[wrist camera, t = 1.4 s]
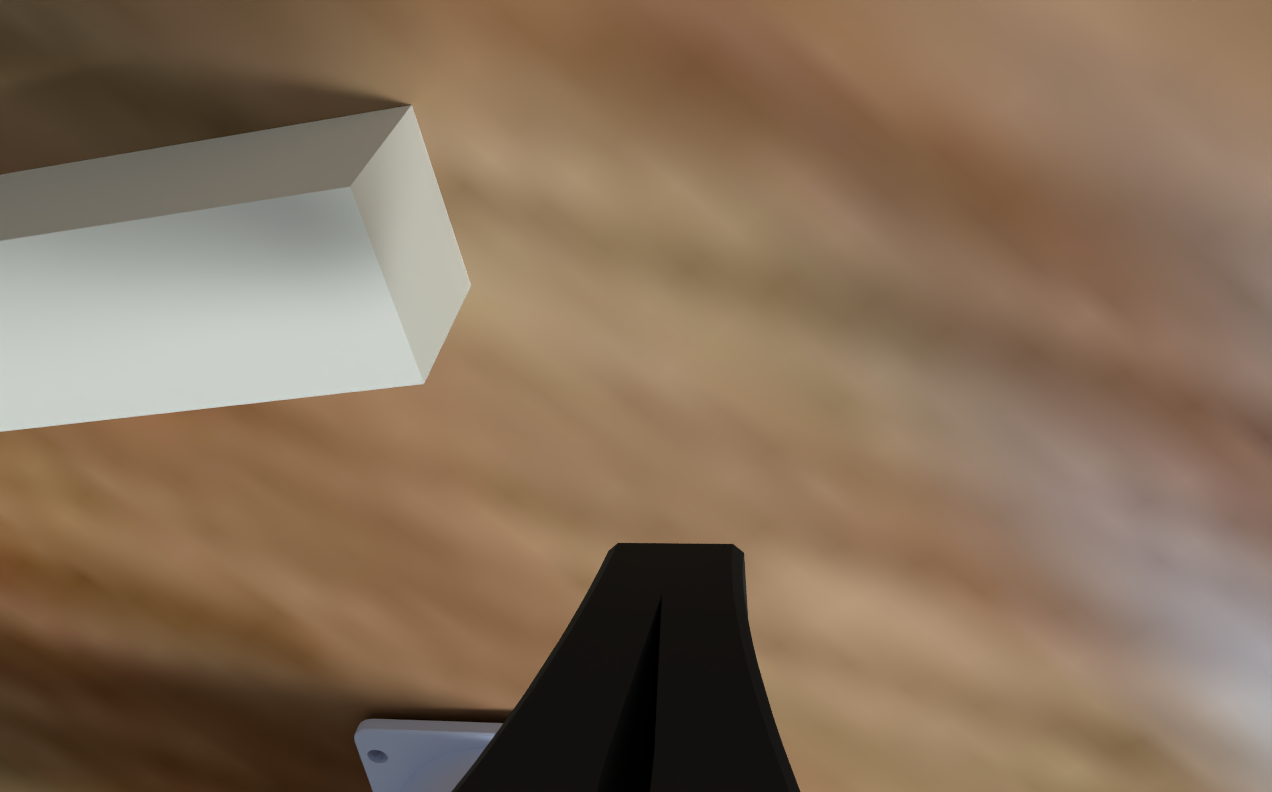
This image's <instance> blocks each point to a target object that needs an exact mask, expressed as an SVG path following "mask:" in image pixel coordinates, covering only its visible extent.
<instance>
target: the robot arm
mask: <svg viewBox="0 0 1272 792" xmlns="http://www.w3.org/2000/svg"><path fill="white" fill-rule="evenodd" d="M354 741H355V744H356V747H357V749H358V752H359V755H360V758H361V761H362V763H363V766H364V769H365V772H366V774H367V777H368V780H369V783H370V785H371V788H372V791H373V792H800V789H799V787H798V784H797V782H796V779H795V776H794V774H793V771H792V768H791V766H790V763H789V760H788V758H787V755H786V752H785V750H784V747H783V744H782V741H781V738H780V735H779V732H778V729H777V726H776V723H775V720H774V717H773V714H772V711H771V708H770V704H769V701H768V697H767V694H766V691H765V687H764V684H763V680H762V677H761V674H760V670H759V667H758V663H757V659H756V655H755V651H754V647H753V642H752V637H751V632H750V627H749V622H748V610H747V594H746V578H745V562H744V553H743V552H742V551H741V550H740V549H738V548H737V547H736V546H735V545H733V544H668V543H617V544H616V545H615V546H614V547H613V548H612V549H610V550H609V551H608V553H607V555H606V557H605V559H604V561H603V563H602V565H601V567H600V569H599V571H598V573H597V575H596V577H595V579H594V581H593V583H592V585H591V586H590V588H589V590H588V592H587V594H586V596H585V597H584V599H583V601H582V603H581V604H580V606H579V608H578V610H577V611H576V613H575V615H574V616H573V618H572V620H571V622H570V623H569V625H568V627H567V628H566V630H565V632H564V633H563V635H562V637H561V638H560V640H559V642H558V643H557V645H556V646H555V648H554V649H553V651H552V652H551V654H550V655H549V657H548V659H547V660H546V662H545V663H544V665H543V666H542V668H541V669H540V671H539V672H538V674H537V675H536V677H535V679H534V680H533V682H532V683H531V685H530V686H529V688H528V689H527V691H526V692H525V694H524V695H523V697H522V698H521V700H520V701H519V703H518V704H517V705H516V707H515V708H514V710H513V711H512V712H511V714H510V715H509V716H508V718H507V719H506V720H505V722H504V723H486V722H457V721H428V720H399V719H367V720H364V721H362V722H361V723H360V724H359V726H358V728H357V730H356V733H355V735H354Z"/></svg>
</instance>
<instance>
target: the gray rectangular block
mask: <svg viewBox="0 0 1272 792" xmlns="http://www.w3.org/2000/svg"><path fill="white" fill-rule="evenodd" d="M470 287H471V284H470V281H469V278H468V275H467V272H466V269H465V266H464V263H463V260H462V257H461V253H460V250H459V247H458V244H457V241H456V238H455V235H454V232H453V229H452V226H451V223H450V220H449V217H448V214H447V211H446V208H445V205H444V202H443V199H442V196H441V193H440V190H439V187H438V184H437V180H436V177H435V174H434V171H433V168H432V165H431V162H430V159H429V156H428V153H427V150H426V147H425V144H424V141H423V138H422V135H421V132H420V129H419V126H418V123H417V120H416V117H415V114H414V111H413V107H412V105H409V106H403V107H397V108H391V109H385V110H379V111H373V112H367V113H362V114H356V115H350V116H344V117H338V118H332V119H326V120H320V121H314V122H308V123H302V124H296V125H291V126H285V127H279V128H273V129H267V130H261V131H255V132H249V133H243V134H237V135H231V136H226V137H220V138H214V139H208V140H202V141H196V142H190V143H184V144H178V145H172V146H166V147H161V148H155V149H149V150H143V151H137V152H131V153H125V154H119V155H113V156H107V157H101V158H96V159H90V160H84V161H78V162H72V163H66V164H60V165H54V166H48V167H42V168H36V169H30V170H25V171H19V172H13V173H7V174H1V175H0V432H1V431H10V430H19V429H28V428H37V427H45V426H54V425H63V424H72V423H81V422H90V421H99V420H108V419H116V418H125V417H134V416H143V415H152V414H161V413H170V412H178V411H187V410H196V409H205V408H214V407H223V406H232V405H241V404H249V403H258V402H267V401H276V400H285V399H294V398H303V397H311V396H320V395H329V394H338V393H347V392H356V391H365V390H374V389H382V388H391V387H400V386H409V385H418V384H424V383H425V381H426V379H427V377H428V374H429V372H430V370H431V368H432V366H433V364H434V362H435V360H436V358H437V356H438V354H439V351H440V349H441V347H442V345H443V343H444V341H445V339H446V337H447V335H448V333H449V331H450V328H451V326H452V324H453V322H454V320H455V318H456V316H457V314H458V312H459V310H460V308H461V305H462V303H463V301H464V299H465V297H466V295H467V293H468V291H469V289H470Z"/></svg>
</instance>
